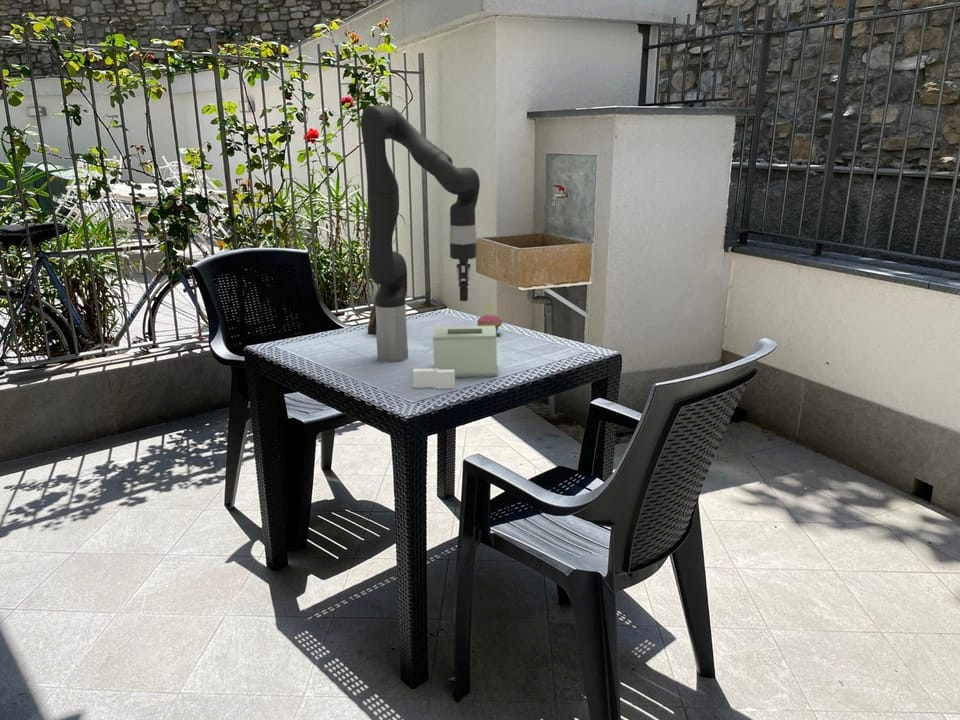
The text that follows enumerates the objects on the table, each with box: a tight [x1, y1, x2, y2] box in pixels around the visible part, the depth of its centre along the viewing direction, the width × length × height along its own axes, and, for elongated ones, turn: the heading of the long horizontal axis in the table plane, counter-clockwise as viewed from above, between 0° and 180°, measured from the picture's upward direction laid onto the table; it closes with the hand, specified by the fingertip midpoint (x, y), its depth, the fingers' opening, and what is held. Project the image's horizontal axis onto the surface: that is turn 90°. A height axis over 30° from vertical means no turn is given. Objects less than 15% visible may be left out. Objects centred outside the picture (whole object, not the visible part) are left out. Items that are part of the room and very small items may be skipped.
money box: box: [432, 325, 498, 378], centre depth 218 cm, size 18×12×12 cm, turn 91°
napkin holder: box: [412, 367, 456, 389], centre depth 205 cm, size 15×11×6 cm
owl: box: [367, 286, 380, 336], centre depth 262 cm, size 13×13×20 cm
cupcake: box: [477, 299, 503, 335], centre depth 257 cm, size 9×8×12 cm
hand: (464, 297), depth 213 cm, fingers open, 8 cm apart
